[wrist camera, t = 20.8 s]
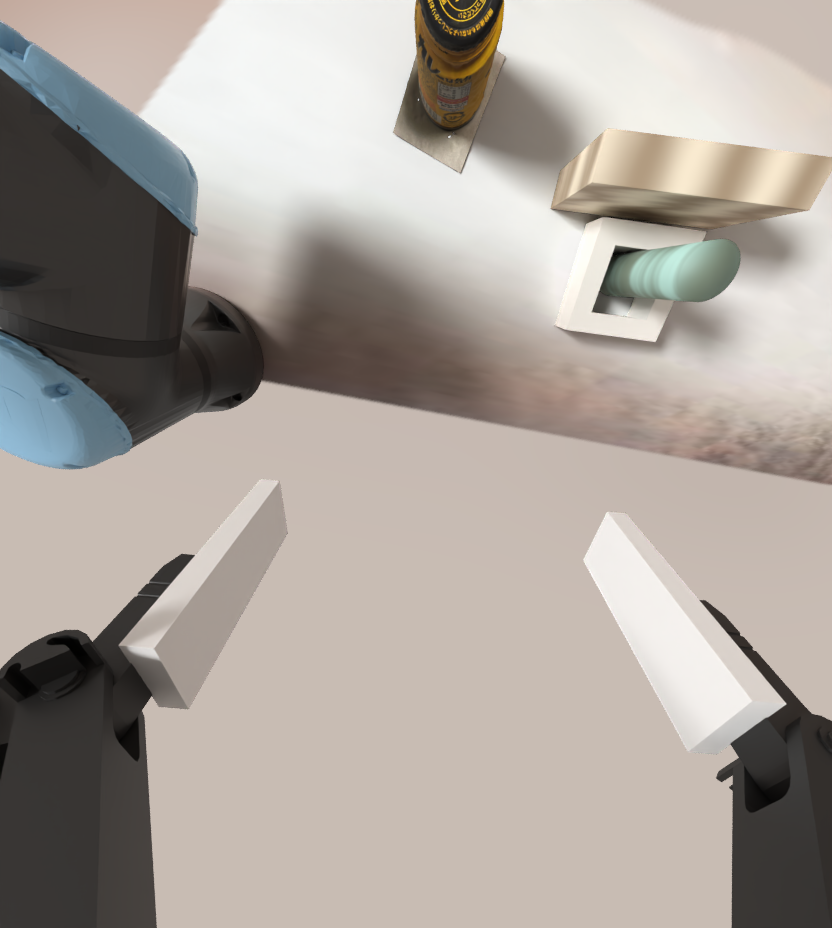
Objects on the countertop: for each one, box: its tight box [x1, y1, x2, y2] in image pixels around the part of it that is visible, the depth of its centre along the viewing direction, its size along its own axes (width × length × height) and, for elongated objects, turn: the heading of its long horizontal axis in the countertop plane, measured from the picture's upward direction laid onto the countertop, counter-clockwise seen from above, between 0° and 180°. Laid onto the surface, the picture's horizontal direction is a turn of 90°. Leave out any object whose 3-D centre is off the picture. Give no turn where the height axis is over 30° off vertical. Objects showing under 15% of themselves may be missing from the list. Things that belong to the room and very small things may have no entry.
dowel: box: [600, 239, 740, 302], centre depth 30 cm, size 4×4×14 cm
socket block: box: [555, 217, 707, 342], centre depth 34 cm, size 10×10×4 cm
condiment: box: [393, 0, 505, 173], centre depth 24 cm, size 7×8×12 cm
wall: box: [551, 128, 832, 229], centre depth 28 cm, size 17×3×10 cm, turn 84°
